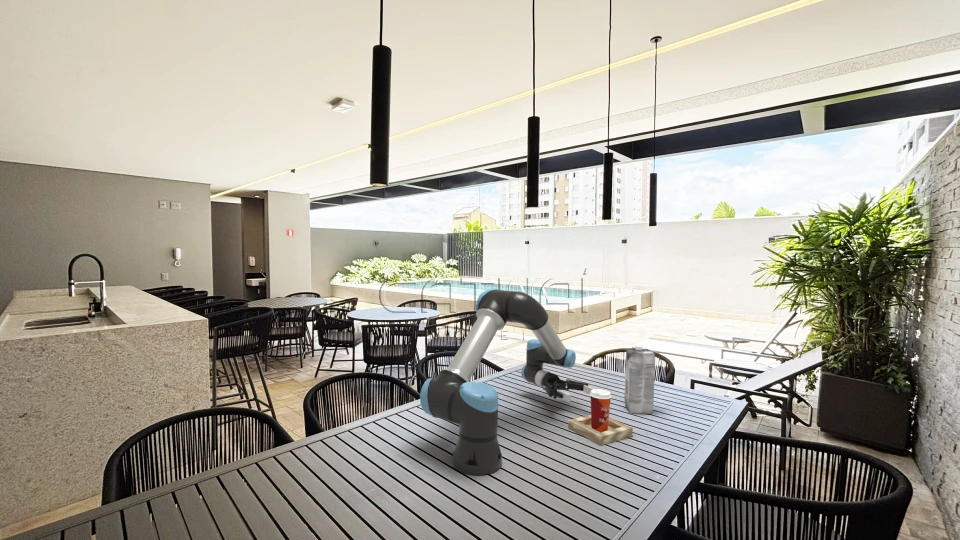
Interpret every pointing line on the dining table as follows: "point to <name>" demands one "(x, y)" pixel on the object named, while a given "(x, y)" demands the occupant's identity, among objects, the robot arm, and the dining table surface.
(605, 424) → the paper cup
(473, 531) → the dining table surface
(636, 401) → the juice carton
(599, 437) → the tray
